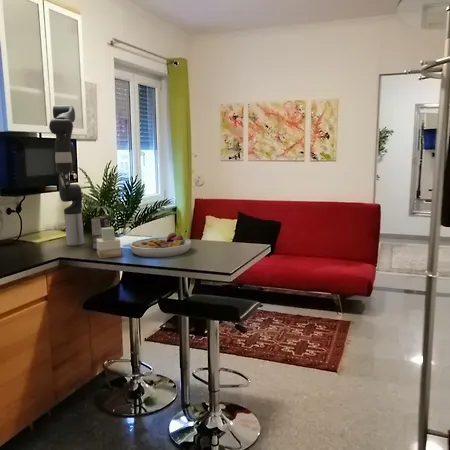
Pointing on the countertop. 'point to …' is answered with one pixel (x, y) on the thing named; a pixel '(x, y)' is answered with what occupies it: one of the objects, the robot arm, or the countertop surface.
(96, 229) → the coffee box
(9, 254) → the countertop surface
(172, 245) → the bowl
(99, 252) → the tower base
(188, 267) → the countertop surface
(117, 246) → the tower top
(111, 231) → the sage cube
